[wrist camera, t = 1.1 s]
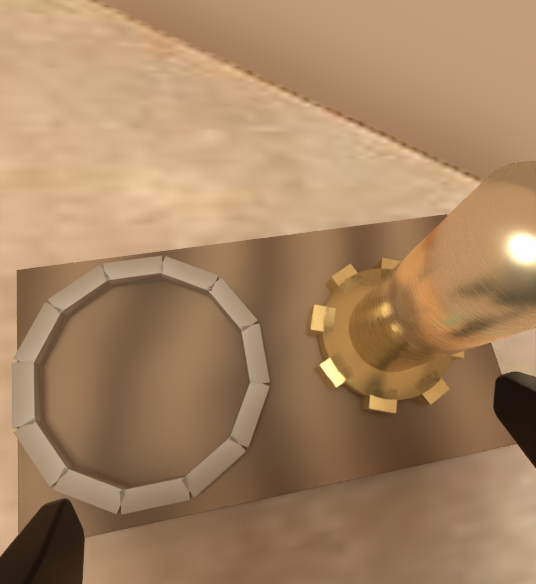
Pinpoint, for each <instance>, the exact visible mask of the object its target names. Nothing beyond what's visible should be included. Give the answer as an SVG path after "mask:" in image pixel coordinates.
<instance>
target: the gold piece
mask: <svg viewBox="0 0 536 584" xmlns="http://www.w3.org/2000/svg"><path fill="white" fill-rule="evenodd" d="M325 286H326V287H327V288H328V289H329V291H330V292H331V293H332V295H331V296H330V298H329V299H328V300H327V302H326V303H325V305H324V306H320V305H315V304H314V305H313V307H312V308H311V310H310V311H309V316H308V323H307V330H306V335H307V336H313V337H317V338H318V345H319V350H320V353H321V356H322V359H323V361H324V362H323V363H322V364H320V365H319V366H317V367H316V368H315V370H316V372H317V373H318V375H319V376H320V377H321V379H322V380H323V381H324V383H325V384H326V386H327V387H328V388H329V390H331V389H334V388H337V387H338V386H339V385H342V386H343V387H345V388H346V389H348V390H349V391H350V392H352V393H354V394H356V395H358V396H360V397H361V408H360V410H365V411H370V412H376V413H381V414H395V413H396V407H397V400H403V399H409V398H412V399H413V400H414V401H415V403H416V404H417V405H418V406H425V405H431V404H432V403H434V402H435V401H436V400H437V399H438V398H440V397H441V396H442V395H443V394H444V393H446V392H447V391H448V390H449V389H450V388H449V387H448V386H447V385H446V383H445V382H444V381H443V379H442V377H443V375H444V374H445V372H446V370H447V368H448V366H449V364H450V362H452V361H455V360H459V359H462V358H464V351H466V350H469V349H472V348H475V347H478V346H481V345H484V344H487V343H490V342H493V341H496V340H499V339H502V338H505V337H508V336H511V335H514V334H518V333H521V332H524V331H527V330H530V329H533V328H536V161H524V162H517V163H512V164H509V165H506V166H504V167H502V168H500V169H498V170H496V171H495V172H493V173H492V174H491V175H490V176H488V177H487V178H486V179H485V180H484V181H483V182H482V183H481V184H480V185H479V186H478V187H477V188H476V189H475V190H474V191H473V192H472V193H471V194H470V195H469V196H468V197H467V198H466V199H465V200H464V201H463V202H462V203H461V204H459V205H458V206H457V207H456V208H455V209H454V210H453V211H452V212H451V213H450V214H449V215H448V216H447V217H446V218H445V219H444V220H443V221H442V222H441V223H440V224H439V225H438V226H437V227H436V228H435V229H434V230H433V231H432V232H431V233H430V234H429V235H428V236H427V237H426V238H424V239H423V240H422V241H421V242H420V243H419V244H418V245H417V246H416V247H415V248H414V249H413V250H412V251H411V252H410V253H409V254H408V255H407V256H406V257H405V258H404V259H403V260H402V261H396V260H391V259H386V258H382V259H381V260H380V261H379V262H378V263H377V264H376V265H375V266H374V269H370V270H366V271H362V272H359V273H358V272H357V271H356V270H355V269H354V267H353V266H352V265H351V264H349V265H348V266H346V267H345V268H343V269H342V270H340V271H339V272H337V273H336V274H334V275H333V276H331V278H330V279H329V281H328V282H327V284H326V285H325Z"/></svg>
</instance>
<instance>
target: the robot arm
mask: <svg viewBox="0 0 536 584" xmlns="http://www.w3.org/2000/svg"><path fill="white" fill-rule="evenodd" d="M493 409H494V412H495V414H496V416H497V418H498V419H499V420H500V422H501V423H502V424H503V426H504V427H505V428H506V430H507V431H508V432H509V434H510V435H511V436H512V438H513V439H514V440H515V442H516V443H517V444H518V446H519V447H520V448H521V450H522V451H523V452H524V453H525V455H526V456H527V457H528V459H529V460H530V461H531V463H532V464H533V465H534V467H535V468H536V377H534V376H531V375H527V374H524V373H520V372H510V373H506V374H503V375H499V376H498V377H497V378H496V380H495V389H494V400H493ZM84 542H85V538H84V530H83V527H82V524H81V522H80V520H79V518H78V516H77V514H76V511H75V509H74V507H73V505H72V503H71V501H70V500H69V499H67V498H62V499H59V500H55V501H52V502H48V503H46V504H44V505H43V506H42V507H41V508H40V509H39V510H38V511H37V512H36V514H35V515H34V516H33V517H32V519H31V520H30V521H29V522H28V523H27V525H26V526H25V527H24V528H23V530H22V531H21V532H20V533H19V534H18V536H17V537H16V538H15V539H14V541H13V542H12V543H11V544H10V545H9V547H8V548H7V549H6V550H5V552H4V553H3V554H2V555H1V556H0V584H82V581H83V562H84Z"/></svg>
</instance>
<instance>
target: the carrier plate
mask: <svg viewBox="0 0 536 584" xmlns="http://www.w3.org/2000/svg"><path fill="white" fill-rule="evenodd" d="M446 217H447V214H446V215H438V216H431V217H423V218H415V219H407V220H400V221H392V222H384V223H377V224H369V225H361V226H354V227H346V228H338V229H330V230H323V231H315V232H307V233H300V234H292V235H284V236H276V237H269V238H261V239H253V240H246V241H238V242H230V243H223V244H215V245H207V246H199V247H192V248H184V249H176V250H169V251H161V252H153V253H146V254H138V255H130V256H122V257H115V258H107V259H99V260H92V261H84V262H76V263H68V264H61V265H53V266H45V267H38V268H30V269H22V270H17V353H16V355H15V357H14V358H13V359H16V360H17V362H15V363H12V428H18V429H17V430H16V431H15V432H14V434H15V435H16V437H17V438H18V534H19V533H20V532H21V531H22V530H23V528H24V527H25V526H26V525H27V523H28V522H29V521H30V520H31V519H32V517H33V516H34V515H35V514H36V512H37V511H38V510H39V509H40V508H41V507H42V506H43V505H44V504H46V503H48V502H52V501H55V500H59V499H62V498H67V499H69V500H70V501H71V503H72V505H73V507H74V509H75V511H76V514H77V516H78V518H79V520H80V522H81V524H82V527H83V530H84V538H85V537H90V536H94V535H99V534H103V533H108V532H113V531H117V530H122V529H127V528H131V527H136V526H140V525H145V524H150V523H154V522H159V521H163V520H168V519H173V518H177V517H182V516H186V515H191V514H196V513H200V512H205V511H210V510H214V509H219V508H223V507H228V506H233V505H237V504H242V503H246V502H251V501H256V500H260V499H265V498H269V497H274V496H279V495H283V494H288V493H292V492H297V491H302V490H306V489H311V488H316V487H320V486H325V485H329V484H334V483H339V482H343V481H348V480H352V479H357V478H362V477H366V476H371V475H375V474H380V473H385V472H389V471H394V470H399V469H403V468H408V467H412V466H417V465H422V464H426V463H431V462H435V461H440V460H445V459H449V458H454V457H458V456H463V455H468V454H472V453H477V452H482V451H486V450H491V449H495V448H500V447H505V446H509V445H514V444H517V443H516V442H515V440H514V439H513V438H512V436H511V435H510V434H509V432H508V431H507V430H506V428H505V427H504V426H503V424H502V423H501V422H500V420H499V419H498V418H497V416H496V414H495V412H494V409H493V400H494V389H495V380H496V378H497V377H498V376H499V375H502V374H501V371H500V368H499V365H498V362H497V359H496V356H495V353H494V350H493V347H492V344H491V342H490V343H487V344H484V345H481V346H478V347H475V348H472V349H469V350H466V351H464V358H462V359H459V360H455V361H452V362H450V364H449V366H448V368H447V370H446V372H445V374H444V375H443V377H442V379H443V381H444V382H445V383H446V385H447V386H448V387H449V388H450V389H449V390H448V391H447V392H446V393H444V394H443V395H442V396H441V397H440V398H438V399H437V400H436V401H435V402H434V403H432V404H431V405H425V406H418V405H417V404H416V403H415V401H414V400H413V399H412V398H409V399H403V400H397V407H396V413H395V414H381V413H376V412H370V411H365V410H360V408H361V397H360V396H358V395H356V394H354V393H352V392H350V391H349V390H348V389H346V388H345V387H343V386H342V385H339V386H338V387H337V388H334V389H331V390H329V388H328V387H327V386H326V384H325V383H324V381H323V380H322V379H321V377H320V376H319V375H318V373H317V372H316V370H315V368H316V367H317V366H319V365H320V364H322V363H323V362H324V361H323V359H322V356H321V353H320V350H319V345H318V338H317V337H313V336H307V335H306V330H307V323H308V316H309V311H310V310H311V308H312V307H313V305H314V304H315V305H320V306H324V305H325V303H326V302H327V300H328V299H329V298H330V296H331V295H332V293H331V292H330V291H329V289H328V288H327V287H326V286H325V285H326V284H327V282H328V281H329V279H330V278H331V276H333V275H334V274H336V273H337V272H339V271H340V270H342V269H343V268H345V267H346V266H348V265H349V264H351V265H352V266H353V267H354V269H355V270H356V271H357V272H358V273H359V272H362V271H366V270H370V269H374V266H375V265H376V264H377V263H378V262H379V261H380V260H381V259H382V258H386V259H391V260H396V261H402V260H403V259H404V258H405V257H406V256H407V255H408V254H409V253H410V252H411V251H412V250H413V249H414V248H415V247H416V246H417V245H418V244H419V243H420V242H421V241H422V240H423V239H424V238H426V237H427V236H428V235H429V234H430V233H431V232H432V231H433V230H434V229H435V228H436V227H437V226H438V225H439V224H440V223H441V222H442V221H443V220H444V219H445V218H446Z"/></svg>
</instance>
